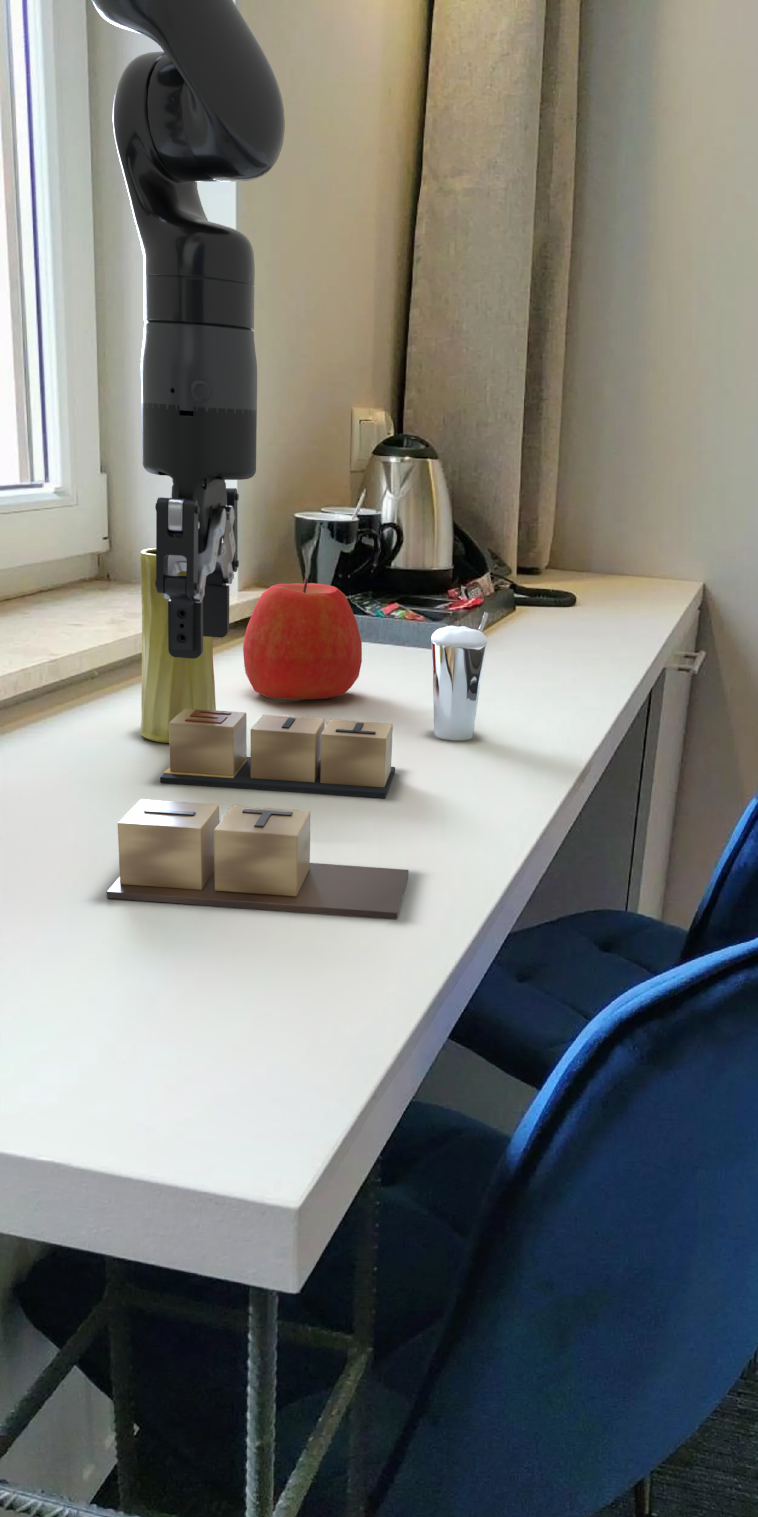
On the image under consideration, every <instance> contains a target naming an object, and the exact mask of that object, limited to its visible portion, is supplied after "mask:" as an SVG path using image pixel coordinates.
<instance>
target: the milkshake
mask: <svg viewBox="0 0 758 1517" xmlns="http://www.w3.org/2000/svg"><path fill="white" fill-rule="evenodd" d="M489 615H490V614H489V612H485V611H484V614H483V616H482V619H481V622H480V625H479V628H478V629H476V628H475V629H473V628H469V627H468V626H464V625H463V626H456V625H447V626H444V627H439V628H437V629H435V631H434V632H432V634H431V637H430V640H431V642H430V643H431V644H430V646H431V661H432V662H431V663H432V695H433V697H432V700H433V701H432V702H433V736H435V737H436V738H439V739H440V740H446V741H455V742H457V741H459V742H460V741H461V742H462V741H463V742H464V741H468V740H471V739H472V738H473V737H474V732H475V725H476V719H477V718H476V717H477V712H478V703H479V695H480V689H481V680H482V674H483V668H484V662H485V657H486V651H487V644H488V638H487V636H486V635H485V634H484V632H483V631H484V628H485V626H486V623H487V620H488V617H489Z"/></svg>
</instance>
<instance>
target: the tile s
mask: <svg viewBox="0 0 758 1517" xmlns="http://www.w3.org/2000/svg"><path fill="white" fill-rule="evenodd" d="M247 743H248V742H247V712H246V711H245V712H244V711H229V710H218V709H216V710H202V709H187V708H185V709H184V710H183V711H182V712H181V713H179V714H178V715H177V716H176V717H175V718H174V719H173V720H172V721H171V722H169V743H168V744H169V767H170V771H171V772H184V773H198V774H212V775H227V776H234V774H235V773H236V772H237V771H238V769H239V768H240V767H241V766H242V764H243V763H244V762H245V761H246V759H247V757H248V756H247V755H248V754H247V753H248V752H247V749H248V748H247Z"/></svg>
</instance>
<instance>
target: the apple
mask: <svg viewBox="0 0 758 1517" xmlns="http://www.w3.org/2000/svg"><path fill="white" fill-rule="evenodd" d="M303 580H304V581H303V583H290V582H289V583H288V582H287V583H276V584H273V585H271V586H270V587H269V588H268V589H266V590H264V591H263V593H261V595H260V597H259V599H257V602H256V604H255V606H254V607H253V610H252V613H251V615H250V618H249V621H248V624H247V626H246V629H245V635H244V640H243V643H242V644H243V645H242V652H243V664H244V665H243V666H244V673H245V675H246V677H247V679H248V682H249V683H250V685H251V687H252V689H253V691H254V692H256V693H258V694H260V695H261V696H264V697H267V698H270V699H275V700H276V699H277V700H278V699H279V700H292V701H293V700H323V699H331V698H335V697H340V696H343V695H345V694H346V693H347V692H348V691H349V690H350V689H351V688H352V687H353V686H354V684H355V683H356V682H357V680H358V679H359V677H360V672H361V667H362V663H363V642H362V639H361V634H360V630H359V624H358V620H357V618H356V616H355V614H354V611H353V609H352V607H351V605H350V602H349V600H348V598H347V596H346V594H345V593H344V592H342V590H340V589H339V588H338V587H336V586H334V585H331V584H330V585H329V584H323V583H314V582H309V579H308V578H307V577H305V578H304V579H303ZM308 582H309V583H308Z"/></svg>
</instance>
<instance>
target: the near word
mask: <svg viewBox="0 0 758 1517" xmlns="http://www.w3.org/2000/svg"><path fill="white" fill-rule="evenodd" d="M311 815H312V814H311V811H310V810H301V809H300V810H299V809H286V808H271V807H257V806H246V805H245V806H243V805H231V806H230V808H228V810H227V811H226V813H225V815H224V816H223V817H222V818H221V819H220V804H217V803H202V802H191V801H189V802H188V801H174V800H161V799H145V798H141V799H139V800H138V801H137V802H136V803H135V804H134V805H133V807H131V809H129V811H127V813H126V814H125V815H124V816H123V817H122V818H121V819H119V821H118V822H117V841H118V844H117V845H118V869H119V871H118V872H119V876H118V877H117V879H115V881H114V882H113V884H111V886H110V887H109V888H108V889H107V890H106V899H113V900H114V899H115V900H116V899H117V900H127V901H143V902H158V903H171V904H182V905H183V904H185V905H197V906H212V907H226V908H238V909H239V908H241V909H253V910H255V909H256V910H268V911H278V912H279V911H280V912H281V911H282V912H296V913H306V914H307V913H310V914H321V915H322V914H324V915H337V916H349V917H351V916H352V917H365V918H378V919H389V920H390V919H392V920H397V919H398V916H399V913H400V909H401V905H402V901H403V897H404V893H405V890H406V886H407V882H408V878H409V872H410V871H409V869H404V868H403V869H402V868H389V867H373V866H360V865H348V864H345V865H344V864H333V863H332V864H331V863H317V862H310V861H311V818H312V817H311Z"/></svg>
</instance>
